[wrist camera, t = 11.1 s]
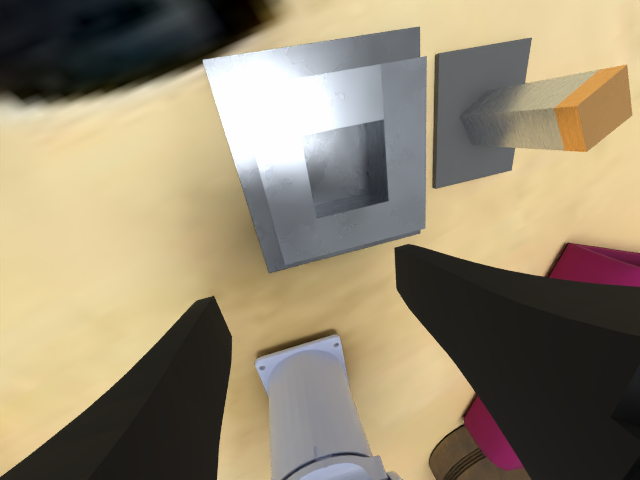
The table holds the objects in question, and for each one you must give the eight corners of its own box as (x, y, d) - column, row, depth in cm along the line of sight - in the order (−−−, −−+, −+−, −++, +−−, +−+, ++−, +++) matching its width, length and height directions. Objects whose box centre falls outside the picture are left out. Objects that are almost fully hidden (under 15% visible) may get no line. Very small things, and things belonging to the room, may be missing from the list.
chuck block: (416, 230, 22) (443, 248, 18) (268, 269, 20) (270, 295, 17) (414, 30, 16) (454, 3, 12) (204, 62, 14) (187, 41, 11)
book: (456, 415, 36) (501, 480, 29) (558, 238, 26) (661, 275, 20) (556, 404, 42) (614, 457, 35) (671, 256, 32) (782, 289, 25)
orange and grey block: (472, 145, 19) (586, 152, 12) (459, 116, 18) (576, 106, 11) (500, 121, 19) (632, 115, 12) (488, 90, 18) (627, 64, 11)
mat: (507, 169, 21) (511, 170, 21) (432, 187, 20) (435, 188, 20) (526, 39, 17) (531, 37, 17) (435, 55, 17) (439, 53, 16)
